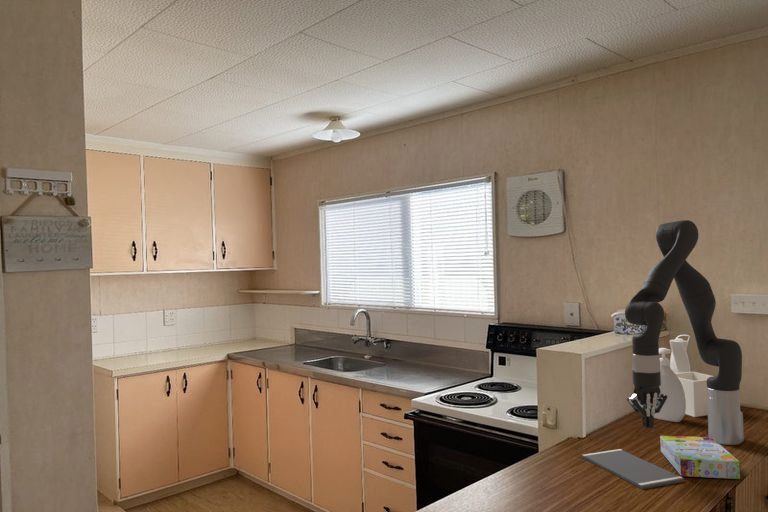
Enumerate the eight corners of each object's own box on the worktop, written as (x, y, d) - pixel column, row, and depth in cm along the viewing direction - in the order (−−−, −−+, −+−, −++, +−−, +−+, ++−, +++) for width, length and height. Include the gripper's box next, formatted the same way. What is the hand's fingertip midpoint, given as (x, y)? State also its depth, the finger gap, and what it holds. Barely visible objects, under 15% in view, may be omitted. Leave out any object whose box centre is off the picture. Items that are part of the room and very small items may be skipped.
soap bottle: (692, 422, 207) (689, 348, 208) (682, 426, 202) (679, 351, 202) (652, 414, 219) (650, 344, 219) (642, 418, 214) (639, 346, 214)
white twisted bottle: (687, 400, 237) (685, 333, 237) (695, 405, 229) (693, 336, 229) (668, 400, 238) (665, 333, 238) (675, 405, 230) (673, 336, 230)
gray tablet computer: (619, 451, 179) (619, 448, 179) (684, 481, 155) (684, 478, 155) (581, 457, 175) (581, 454, 175) (642, 489, 151) (642, 485, 151)
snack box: (680, 478, 157) (741, 480, 154) (679, 458, 157) (739, 459, 154) (660, 452, 178) (713, 453, 175) (659, 434, 178) (712, 435, 175)
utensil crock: (694, 406, 228) (693, 371, 228) (724, 415, 214) (723, 378, 215) (665, 410, 224) (664, 374, 224) (694, 419, 210) (693, 381, 211)
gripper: (655, 365, 173) (657, 422, 173) (618, 368, 169) (620, 427, 169) (674, 369, 165) (676, 428, 165) (636, 373, 162) (638, 434, 162)
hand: (648, 427), depth 167 cm, fingers closed
